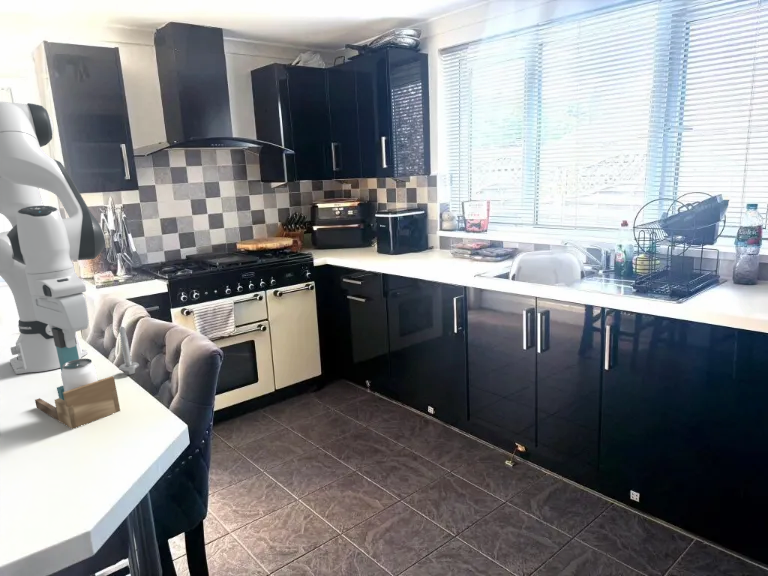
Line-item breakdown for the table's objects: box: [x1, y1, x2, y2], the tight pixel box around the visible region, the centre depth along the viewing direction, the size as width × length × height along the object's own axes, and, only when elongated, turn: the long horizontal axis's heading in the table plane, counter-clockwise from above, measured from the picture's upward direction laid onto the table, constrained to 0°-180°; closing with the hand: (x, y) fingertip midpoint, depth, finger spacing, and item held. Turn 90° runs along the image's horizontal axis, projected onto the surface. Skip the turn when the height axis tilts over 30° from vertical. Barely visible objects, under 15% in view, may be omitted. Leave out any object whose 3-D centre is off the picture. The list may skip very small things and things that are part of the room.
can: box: [60, 358, 99, 392], centre depth 117 cm, size 6×6×12 cm
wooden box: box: [34, 375, 121, 430], centre depth 121 cm, size 20×10×8 cm, turn 51°
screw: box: [118, 326, 140, 376], centre depth 141 cm, size 13×5×5 cm
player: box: [51, 327, 79, 401], centre depth 119 cm, size 3×6×19 cm, turn 141°
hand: (65, 345), depth 117 cm, fingers open, 4 cm apart
